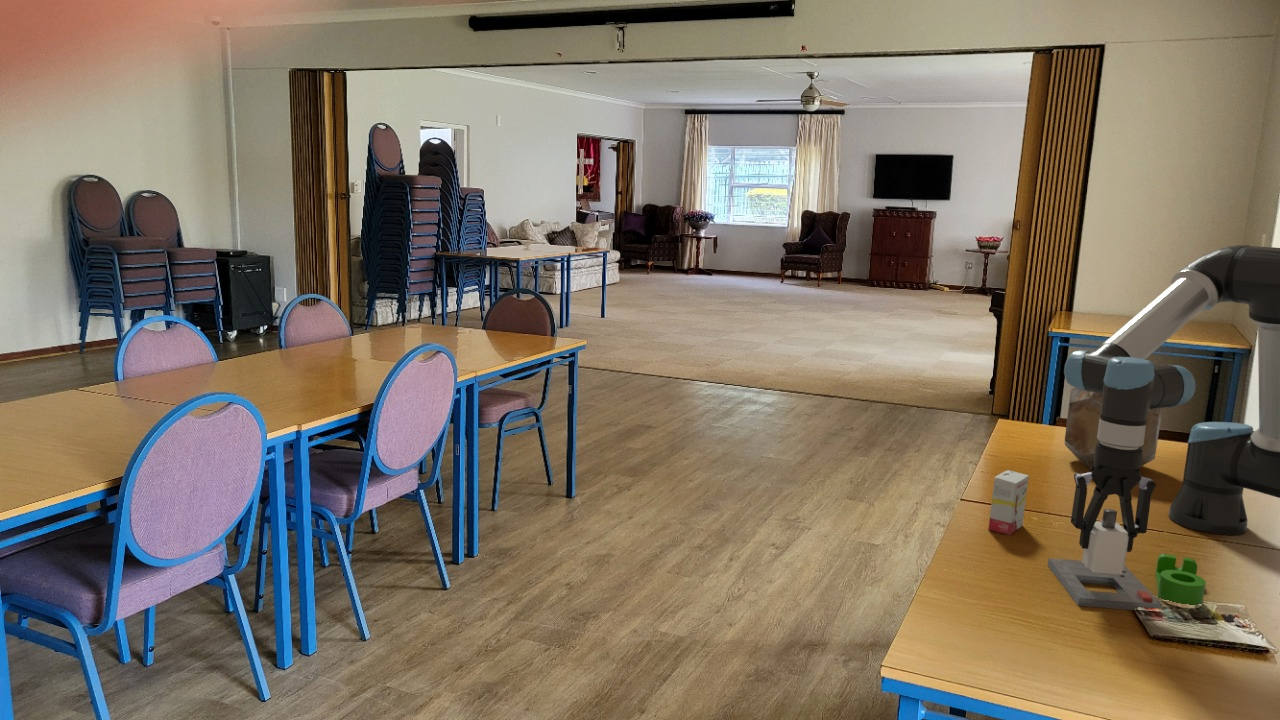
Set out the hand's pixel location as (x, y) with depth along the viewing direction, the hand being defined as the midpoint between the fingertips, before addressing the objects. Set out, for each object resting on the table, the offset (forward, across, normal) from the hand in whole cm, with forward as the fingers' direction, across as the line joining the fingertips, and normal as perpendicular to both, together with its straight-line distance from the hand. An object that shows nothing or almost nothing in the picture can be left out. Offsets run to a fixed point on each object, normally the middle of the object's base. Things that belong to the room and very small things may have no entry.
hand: (1102, 565), depth 173 cm
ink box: (+5, +9, -31) cm, 33 cm away
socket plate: (+5, -1, -2) cm, 6 cm away
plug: (0, 0, 0) cm, 0 cm away
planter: (+5, -31, -86) cm, 92 cm away
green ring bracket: (+6, -15, -3) cm, 16 cm away
